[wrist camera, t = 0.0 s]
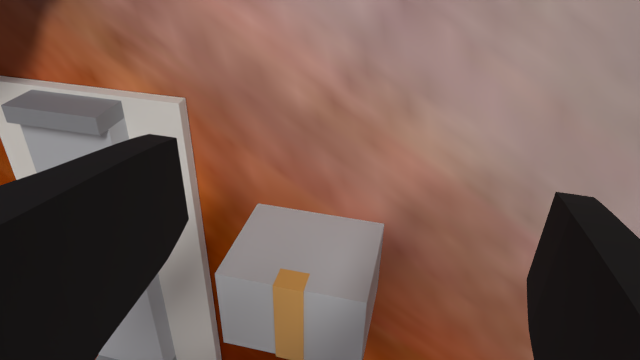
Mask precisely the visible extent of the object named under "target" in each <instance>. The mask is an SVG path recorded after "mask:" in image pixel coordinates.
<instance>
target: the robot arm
mask: <svg viewBox="0 0 640 360" xmlns="http://www.w3.org/2000/svg"><path fill="white" fill-rule="evenodd" d="M188 220H189V216H188V210H187V203H186V197H185V190H184V184H183V177H182V170H181V164H180V157H179V151H178V144H177V138H174V137H167V136H160V135H153V134H147V135H143V136H139V137H135V138H132V139H129V140H126V141H123V142H120V143H117V144H114V145H111V146H109V147H106V148H103V149H100V150H98V151H95V152H92V153H90V154H87V155H84V156H82V157H79V158H76V159H74V160H71V161H68V162H66V163H63V164H60V165H58V166H55V167H52V168H50V169H47V170H44V171H41V172H38V173H36V174H33V175H30V176H27V177H24V178H21V179H18V180H15V181H12V182H10V183H7V184H4V185H1V186H0V360H95V358H96V357H97V355H98V354H99V352H100V351H101V349H102V348H103V346H104V345H105V344H106V342H107V341H108V340H109V338H110V337H111V336H112V334H113V333H114V332H115V330H116V329H117V328H118V326H119V325H120V324H121V322H122V321H123V320H124V318H125V317H126V316H127V314H128V313H129V311H130V310H131V309H132V307H133V306H134V305H135V303H136V302H137V301H138V299H139V298H140V297H141V295H142V294H143V293H144V291H145V290H146V289H147V287H148V286H149V285H150V283H151V282H152V280H153V279H154V278H155V276H156V275H157V274H158V272H159V271H160V269H161V268H162V267H163V265H164V264H165V262H166V261H167V260H168V258H169V256H170V254H171V253H172V251H173V249H174V247H175V245H176V244H177V242H178V240H179V238H180V236H181V234H182V232H183V230H184V228H185V226H186V224H187V222H188ZM527 304H528V324H529V333H530V339H531V345H532V351H533V356H534V360H640V239H639V238H638V237H637V236H636V235H635V234H634V233H633V232H632V231H631V230H630V229H629V228H628V227H626V226H625V225H624V224H623V223H622V222H621V221H620V220H619V219H618V218H617V217H616V216H615V215H614V214H613V213H612V212H610V211H609V210H608V209H607V208H606V207H605V206H604V205H603V204H601V203H600V202H599V201H598V200H597V199H595V198H594V197H588V196H581V195H574V194H567V193H560V192H556V193H555V196H554V199H553V202H552V205H551V208H550V211H549V214H548V217H547V220H546V223H545V226H544V229H543V232H542V235H541V238H540V241H539V244H538V247H537V250H536V253H535V256H534V259H533V262H532V265H531V268H530V271H529V274H528V277H527Z"/></svg>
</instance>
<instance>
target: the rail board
mask: <svg viewBox="0 0 640 360" xmlns="http://www.w3.org/2000/svg"><path fill="white" fill-rule="evenodd" d="M147 134H153V135H160V136H167V137H174V138H177V144H178V151H179V157H180V164H181V170H182V177H183V184H184V190H185V197H186V203H187V210H188V216H189V220H188V222H187V224H186V226H185V228H184V230H183V232H182V234H181V236H180V238H179V240H178V242H177V244H176V245H175V247H174V249H173V251H172V253H171V254H170V256H169V258H168V260H167V261H166V262H165V264H164V265H163V267H162V268H161V269H160V271H159V272H158V274H157V275H156V276H155V278H154V279H153V280H152V282H151V283H150V285H149V286H148V287H147V289H146V290H145V291H144V293H143V294H142V295H141V297H140V298H139V299H138V301H137V302H136V303H135V305H134V306H133V307H132V309H131V310H130V311H129V313H128V314H127V316H126V317H125V318H124V320H123V321H122V322H121V324H120V325H119V326H118V328H117V329H116V330H115V332H114V333H113V334H112V336H111V337H110V338H109V340H108V341H107V342H106V344H105V345H104V346H103V348H102V349H101V351H100V352H99V356H98V357H97V358H96V360H222V358H221V351H220V344H219V336H218V329H217V322H216V315H215V308H214V300H213V293H212V286H211V279H210V272H209V265H208V257H207V250H206V243H205V236H204V229H203V222H202V214H201V207H200V200H199V193H198V186H197V178H196V171H195V164H194V157H193V150H192V143H191V135H190V128H189V121H188V114H187V107H186V99H185V98H181V97H172V96H164V95H156V94H148V93H139V92H131V91H123V90H114V89H106V88H98V87H90V86H81V85H73V84H65V83H57V82H48V81H40V80H32V79H24V78H15V77H7V76H0V137H1V140H2V142H3V145H4V148H5V150H6V153H7V156H8V158H9V161H10V164H11V167H12V169H13V172H14V175H15V177H16V180H18V179H21V178H24V177H27V176H30V175H33V174H36V173H38V172H41V171H44V170H47V169H50V168H52V167H55V166H58V165H60V164H63V163H66V162H68V161H71V160H74V159H76V158H79V157H82V156H84V155H87V154H90V153H92V152H95V151H98V150H100V149H103V148H106V147H109V146H111V145H114V144H117V143H120V142H123V141H126V140H129V139H132V138H135V137H139V136H143V135H147Z"/></svg>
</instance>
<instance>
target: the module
mask: <svg viewBox="0 0 640 360" xmlns="http://www.w3.org/2000/svg"><path fill="white" fill-rule="evenodd" d="M383 232H384V224H382V223H376V222H370V221H364V220H357V219H351V218H345V217H339V216H333V215H326V214H320V213H314V212H308V211H302V210H295V209H289V208H283V207H277V206H271V205H264V204H257V206H256V207H255V209H254V211H253V212H252V214H251V215H250V217H249V219H248V220H247V222H246V224H245V225H244V227H243V229H242V230H241V232H240V233H239V235H238V237H237V238H236V240H235V242H234V243H233V245H232V247H231V248H230V250H229V251H228V253H227V255H226V256H225V258H224V260H223V261H222V263H221V264H220V266H219V268H218V269H217V271H216V273H215V279H216V287H217V295H218V302H219V310H220V318H221V325H222V333H223V340H224V342H225V343H229V344H234V345H239V346H243V347H248V348H252V349H257V350H261V351H266V352H271V353H275V354H276V357H280V358H285V359H289V360H363V357H364V352H365V347H366V342H367V337H368V332H369V327H370V322H371V317H372V312H373V307H374V303H375V298H376V293H377V287H378V278H379V269H380V260H381V251H382V242H383Z"/></svg>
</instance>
